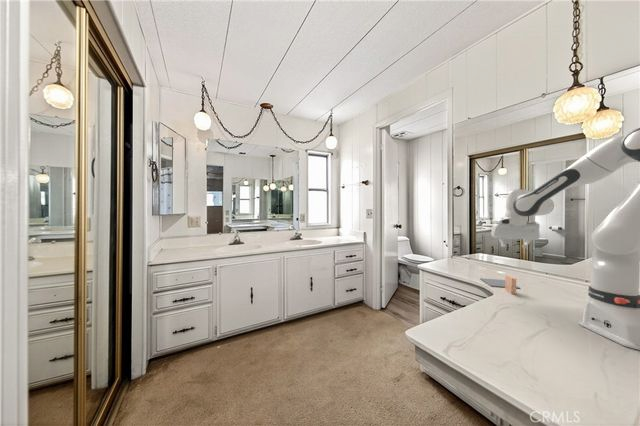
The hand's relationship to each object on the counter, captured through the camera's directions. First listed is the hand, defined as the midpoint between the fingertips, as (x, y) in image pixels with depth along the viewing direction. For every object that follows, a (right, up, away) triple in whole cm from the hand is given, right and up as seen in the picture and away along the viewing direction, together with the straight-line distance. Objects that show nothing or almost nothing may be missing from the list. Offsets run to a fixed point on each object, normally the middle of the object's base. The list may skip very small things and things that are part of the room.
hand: (513, 247), depth 123 cm
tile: (-1, -23, +1) cm, 24 cm away
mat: (+3, -23, +14) cm, 27 cm away
